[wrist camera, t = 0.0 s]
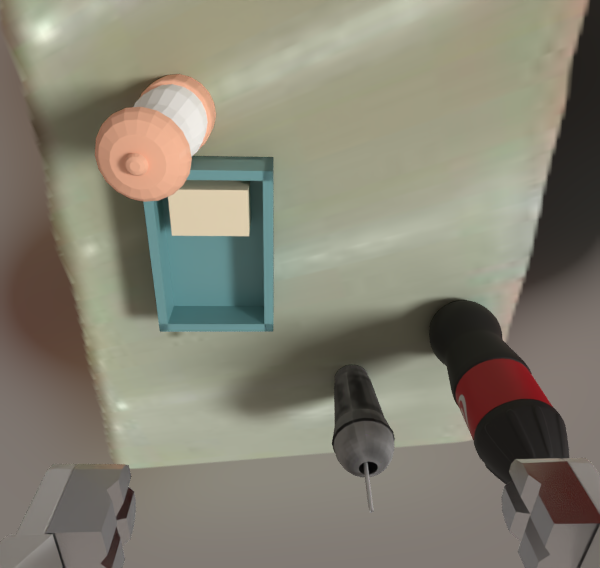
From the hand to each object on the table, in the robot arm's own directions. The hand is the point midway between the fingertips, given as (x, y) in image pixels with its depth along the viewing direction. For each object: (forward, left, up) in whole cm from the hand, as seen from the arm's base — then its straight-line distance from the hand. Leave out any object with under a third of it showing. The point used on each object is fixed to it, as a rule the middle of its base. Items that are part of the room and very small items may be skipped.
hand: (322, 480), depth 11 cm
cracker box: (+11, -8, -47) cm, 49 cm away
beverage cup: (+36, +9, -48) cm, 61 cm away
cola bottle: (+27, +22, -48) cm, 60 cm away
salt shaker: (+2, -11, -48) cm, 49 cm away
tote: (+16, -8, -48) cm, 51 cm away
